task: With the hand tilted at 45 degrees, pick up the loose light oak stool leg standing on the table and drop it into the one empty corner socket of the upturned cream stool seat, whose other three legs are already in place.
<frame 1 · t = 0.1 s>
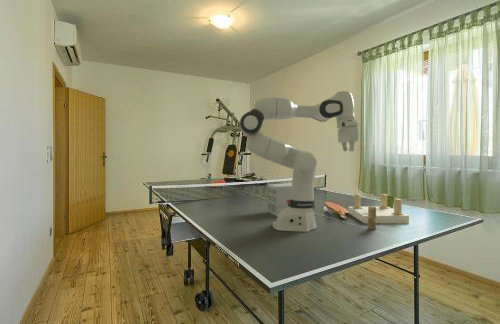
hand: (348, 151, 140), 39 cm above the table, tool pointing down, fingers open, 8 cm apart
supplement box: (284, 213, 172), on the table
stool leg: (371, 228, 138), on the table
plant pot: (387, 210, 180), on the table
stool seat: (376, 217, 160), on the table
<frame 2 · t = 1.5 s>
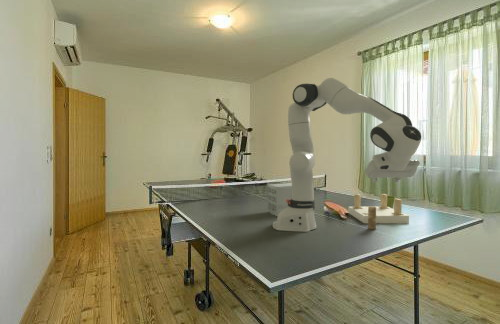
hand: (384, 181, 124), 25 cm above the table, tool tilted 45°, fingers open, 8 cm apart
nothing on the table moved.
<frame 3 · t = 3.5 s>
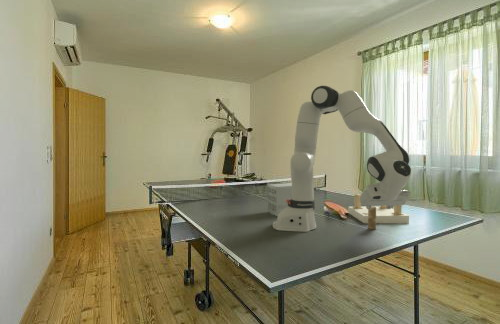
hand: (377, 208, 131), 12 cm above the table, tool tilted 45°, fingers open, 8 cm apart
nothing on the table moved.
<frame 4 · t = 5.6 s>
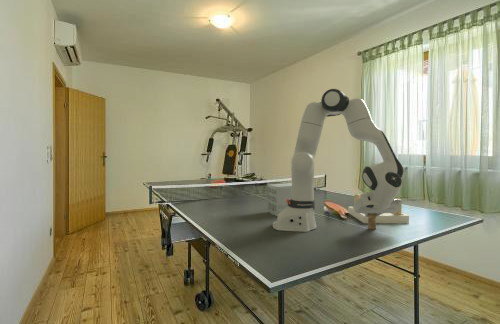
hand: (371, 215, 138), 7 cm above the table, tool tilted 45°, fingers closed on stool leg, 4 cm apart
stool leg: (371, 228, 138), on the table, touching gripper
everything else where it was.
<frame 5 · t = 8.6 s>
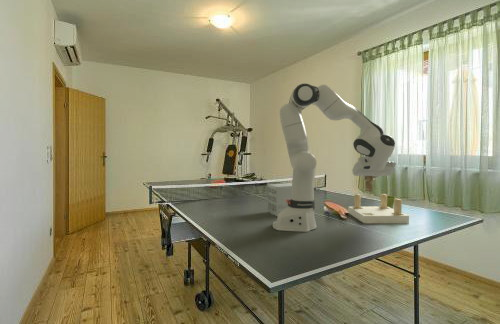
hand: (368, 179, 151), 23 cm above the table, tool tilted 45°, fingers closed on stool leg, 4 cm apart
stool leg: (368, 191, 151), point 17 cm above the table, touching gripper
everything else where it was.
when the fingers open (9 cm above the table, at t = 11.6 s): stool leg drops 1 cm, resting on stool seat.
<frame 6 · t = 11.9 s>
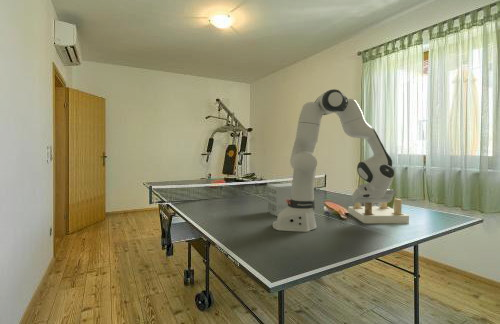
hand: (367, 204, 152), 9 cm above the table, tool tilted 45°, fingers open, 6 cm apart
stool leg: (368, 219, 152), point 1 cm above the table, touching stool seat
everything else where it was.
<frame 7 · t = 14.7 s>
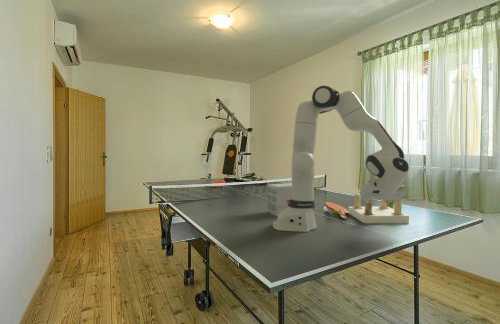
hand: (376, 202, 139), 13 cm above the table, tool tilted 45°, fingers open, 8 cm apart
nothing on the table moved.
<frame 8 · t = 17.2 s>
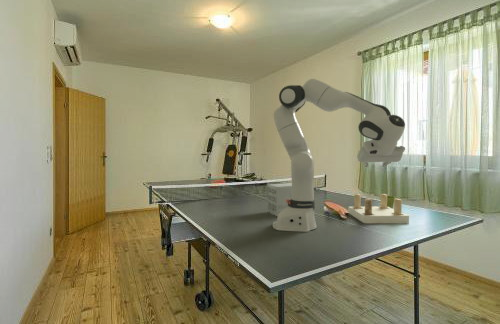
hand: (374, 165, 139), 31 cm above the table, tool tilted 45°, fingers open, 8 cm apart
nothing on the table moved.
at the end: stool leg 0.1 cm from the target spot on the stool seat, point 1.2 cm above the stool seat's base; stool leg tilted 0°; the gripper is holding nothing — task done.
